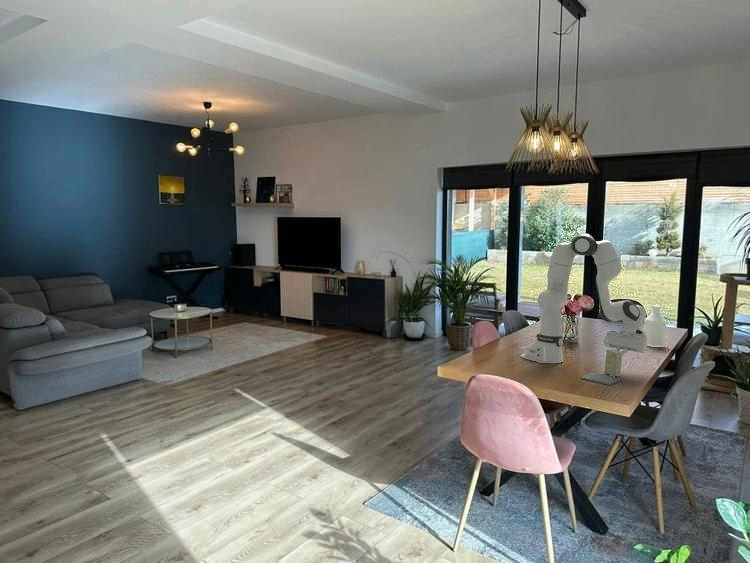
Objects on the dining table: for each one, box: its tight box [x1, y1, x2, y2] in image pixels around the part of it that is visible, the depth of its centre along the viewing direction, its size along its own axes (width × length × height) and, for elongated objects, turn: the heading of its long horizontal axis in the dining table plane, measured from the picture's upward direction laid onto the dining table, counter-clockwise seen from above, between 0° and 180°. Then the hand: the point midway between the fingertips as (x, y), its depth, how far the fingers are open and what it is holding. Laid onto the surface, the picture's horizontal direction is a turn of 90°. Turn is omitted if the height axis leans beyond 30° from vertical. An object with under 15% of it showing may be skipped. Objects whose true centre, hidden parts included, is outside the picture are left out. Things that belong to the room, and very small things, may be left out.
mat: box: [580, 371, 624, 386], centre depth 256 cm, size 14×14×1 cm
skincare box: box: [604, 348, 623, 377], centre depth 264 cm, size 6×4×12 cm
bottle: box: [643, 304, 667, 345], centre depth 332 cm, size 12×12×25 cm
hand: (619, 355), depth 268 cm, fingers closed
